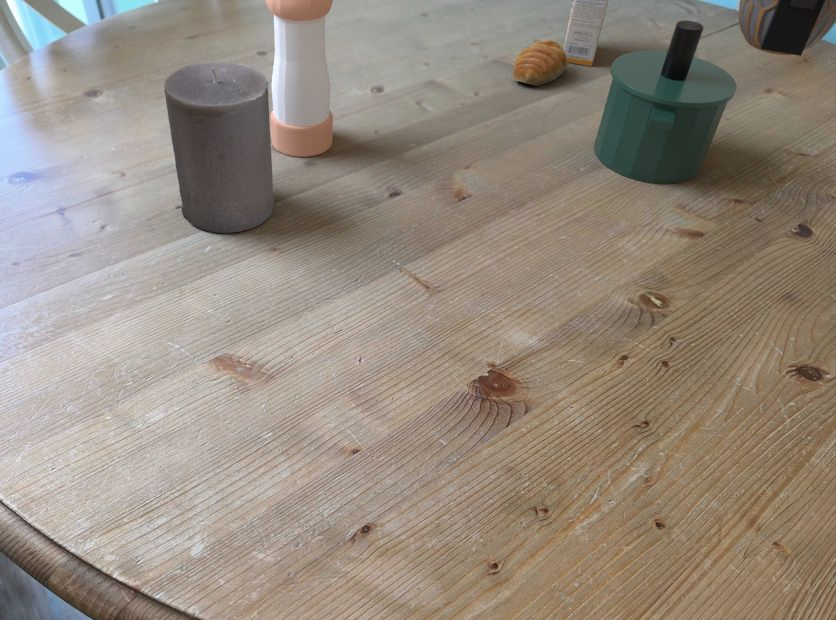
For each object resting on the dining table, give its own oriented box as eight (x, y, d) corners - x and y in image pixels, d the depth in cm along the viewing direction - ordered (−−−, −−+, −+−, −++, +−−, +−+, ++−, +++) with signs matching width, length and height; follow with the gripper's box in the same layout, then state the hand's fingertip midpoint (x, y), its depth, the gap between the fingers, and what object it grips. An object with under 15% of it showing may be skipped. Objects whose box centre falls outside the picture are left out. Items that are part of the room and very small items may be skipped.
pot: (704, 134, 96) (732, 61, 89) (695, 205, 83) (727, 126, 77) (605, 113, 98) (625, 41, 92) (582, 179, 86) (603, 101, 80)
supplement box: (565, 41, 116) (585, -52, 106) (596, 46, 115) (620, -47, 106) (559, 62, 110) (580, -34, 101) (592, 67, 109) (616, -29, 100)
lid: (734, 74, 88) (757, 15, 83) (730, 124, 79) (756, 61, 74) (617, 52, 91) (633, -6, 86) (600, 97, 82) (617, 35, 77)
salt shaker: (281, 123, 93) (274, -44, 79) (338, 131, 92) (341, -37, 79) (263, 152, 88) (253, -22, 74) (324, 161, 87) (324, -14, 73)
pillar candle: (164, 220, 77) (138, 78, 66) (212, 175, 84) (196, 39, 73) (248, 244, 75) (235, 101, 64) (291, 195, 81) (286, 59, 71)
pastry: (545, 94, 102) (551, 66, 99) (499, 81, 104) (504, 54, 102) (568, 70, 108) (574, 43, 105) (525, 59, 110) (529, 32, 108)
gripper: (862, -399, 48) (730, -18, 64) (904, -414, 34) (723, 74, 50) (995, -395, 46) (824, -4, 62) (1094, -408, 33) (844, 95, 49)
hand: (779, 30), depth 56 cm, fingers closed on vase, 7 cm apart
